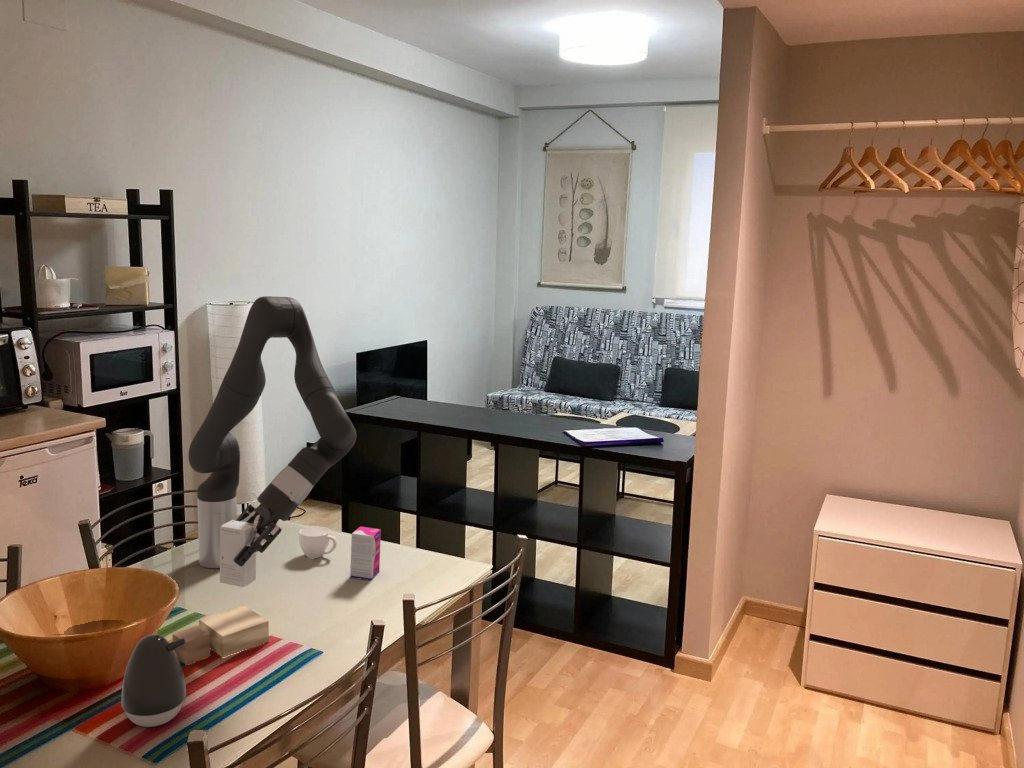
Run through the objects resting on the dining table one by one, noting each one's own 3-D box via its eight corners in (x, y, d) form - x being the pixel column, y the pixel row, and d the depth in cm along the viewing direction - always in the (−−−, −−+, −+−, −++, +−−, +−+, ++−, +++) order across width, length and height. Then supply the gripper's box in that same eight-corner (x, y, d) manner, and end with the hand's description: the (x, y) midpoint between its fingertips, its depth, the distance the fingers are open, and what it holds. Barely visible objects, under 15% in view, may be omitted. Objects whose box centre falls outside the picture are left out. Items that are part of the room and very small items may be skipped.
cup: (307, 548, 222) (307, 524, 221) (342, 553, 220) (342, 528, 219) (294, 559, 215) (293, 534, 214) (330, 564, 213) (330, 538, 212)
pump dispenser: (182, 732, 140) (180, 648, 137) (115, 738, 138) (111, 652, 135) (192, 699, 150) (190, 620, 147) (130, 704, 147) (126, 624, 145)
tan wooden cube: (173, 657, 164) (172, 634, 163) (196, 648, 168) (195, 625, 167) (186, 666, 161) (186, 642, 160) (210, 657, 165) (209, 633, 164)
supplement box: (372, 580, 204) (372, 536, 202) (349, 578, 205) (349, 533, 203) (380, 571, 209) (381, 528, 207) (358, 569, 210) (358, 525, 208)
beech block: (199, 641, 171) (198, 619, 170) (244, 626, 178) (244, 604, 177) (223, 660, 164) (222, 636, 163) (268, 643, 171) (268, 621, 171)
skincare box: (218, 583, 168) (217, 526, 166) (232, 575, 173) (231, 519, 171) (245, 588, 167) (244, 530, 165) (258, 579, 171) (257, 523, 169)
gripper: (260, 473, 176) (205, 536, 171) (286, 491, 165) (229, 559, 160) (284, 493, 180) (231, 555, 175) (312, 513, 169) (256, 579, 164)
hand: (230, 557), depth 168 cm, fingers closed on skincare box, 7 cm apart
